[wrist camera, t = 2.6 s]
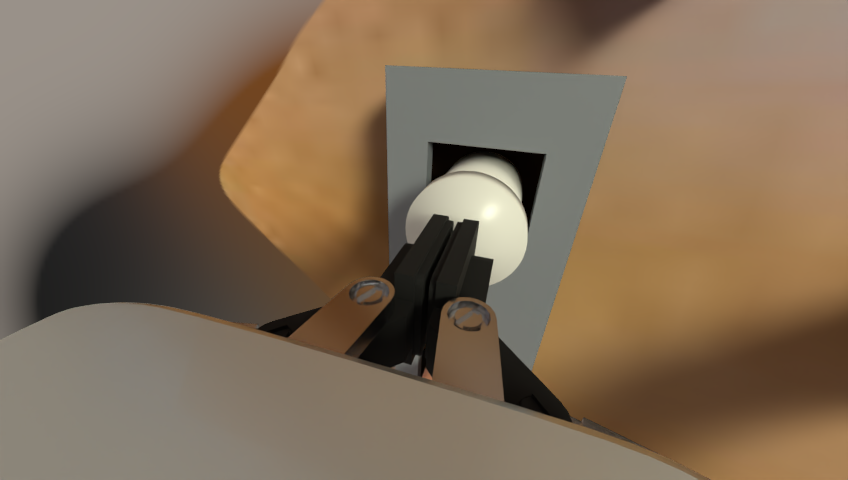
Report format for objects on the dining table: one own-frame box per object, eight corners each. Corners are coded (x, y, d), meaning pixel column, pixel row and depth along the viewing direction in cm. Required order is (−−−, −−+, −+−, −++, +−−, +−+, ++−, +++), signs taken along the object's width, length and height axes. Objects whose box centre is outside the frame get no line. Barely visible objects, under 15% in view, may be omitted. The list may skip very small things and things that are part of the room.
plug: (537, 150, 16) (541, 187, 11) (518, 235, 18) (514, 298, 13) (443, 140, 17) (405, 170, 12) (437, 222, 19) (405, 275, 14)
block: (597, 75, 17) (626, 76, 12) (511, 379, 30) (507, 443, 24) (423, 67, 19) (385, 65, 14) (413, 352, 32) (392, 405, 27)
